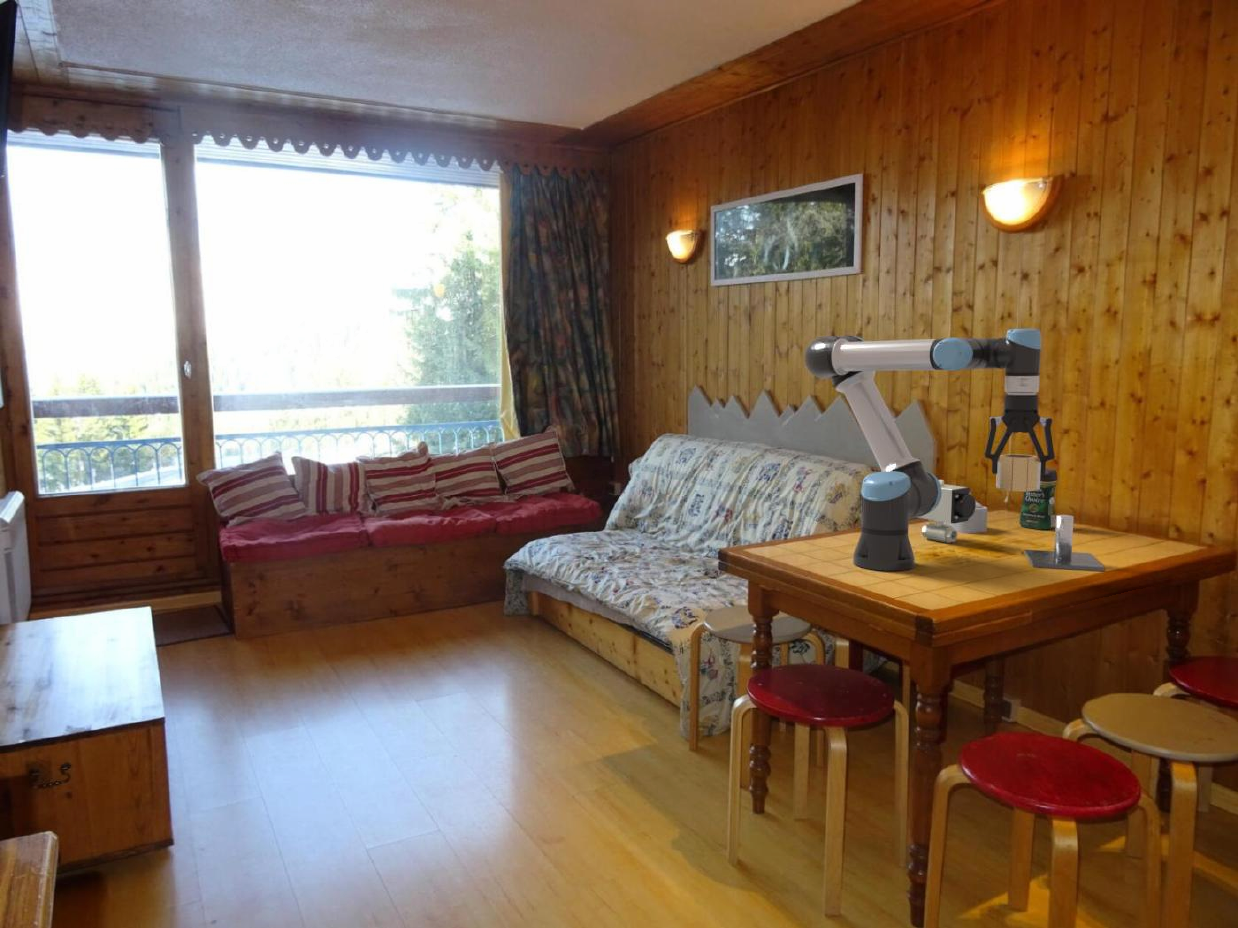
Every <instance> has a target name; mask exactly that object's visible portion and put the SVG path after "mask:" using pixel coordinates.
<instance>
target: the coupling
mask: <svg viewBox="0 0 1238 928" xmlns="http://www.w3.org/2000/svg"><path fill="white" fill-rule="evenodd" d="M1038 459H1039V457H1038V455H1033V454H1032V455H1031V454H1022V453H1020V454H1017V453H1013V454H1011V453H1009V454H1001V455H1000V457H999V460H1000V461H1001V477H1000V488H999V490H1002V491H1009V492H1023V493H1024V492H1028V491H1036V486H1037V464H1038V461H1039V460H1038Z"/></svg>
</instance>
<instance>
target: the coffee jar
mask: <svg viewBox="0 0 1238 928" xmlns="http://www.w3.org/2000/svg"><path fill="white" fill-rule="evenodd" d="M1057 485H1058V472H1057V470H1056V469H1052V468H1046V470H1045V475H1040V489H1036V491H1028V492H1023V496H1022V504H1021V510H1020V516H1019V525H1020V526H1021V527H1024V528H1029V529H1033V528H1034V529H1035V530H1041V529H1043V530H1052V529H1054V528H1055V527H1056V511H1055V491H1056V488H1057Z"/></svg>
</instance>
